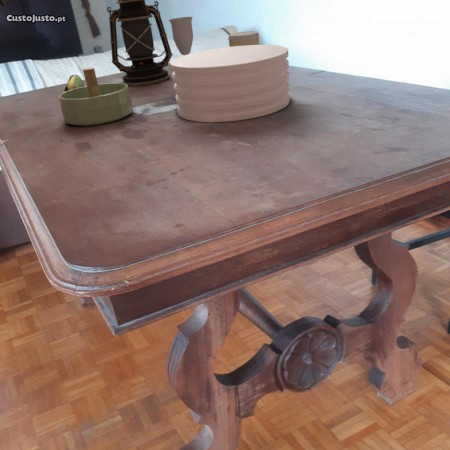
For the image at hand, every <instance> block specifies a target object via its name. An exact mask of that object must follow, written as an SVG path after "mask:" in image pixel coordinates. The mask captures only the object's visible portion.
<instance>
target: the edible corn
mask: <svg viewBox="0 0 450 450" xmlns="http://www.w3.org/2000/svg"><path fill="white" fill-rule="evenodd" d="M66 82H67V83H66V85H65V87H64V90H63V92H65V91H68V90H71V89H75V88H79V87H83V86H85V82H84V80H83V79H82V77H81V76H80V75H78V74H72V75H70V77H69V78H68V80H67V81H66Z"/></svg>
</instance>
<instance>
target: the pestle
mask: <svg viewBox="0 0 450 450" xmlns="http://www.w3.org/2000/svg"><path fill="white" fill-rule="evenodd" d="M82 72H83V73H82V74H83V77H84V81H85V84H86V85H85V86H87V89H88V93H89V97H96V96H101V95H100V91H99V87H98V84H99V83H98V78H97V74H96V71H95V68H94V67H86V68H83V69H82Z"/></svg>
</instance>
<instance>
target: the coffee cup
mask: <svg viewBox="0 0 450 450" xmlns="http://www.w3.org/2000/svg"><path fill="white" fill-rule="evenodd" d="M227 40H228V47H234V46H246V45H260V33H259V31H258V30H249V31H248V30H246V31H240V32H233V33H230V34H229V35H228V37H227Z"/></svg>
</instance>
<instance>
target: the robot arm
mask: <svg viewBox="0 0 450 450" xmlns="http://www.w3.org/2000/svg"><path fill="white" fill-rule="evenodd" d="M41 1H42V2H45V1H46V2H47V0H41ZM6 4H7V0H0V6H1V7H2V6H3V7H4V6H7V5H6Z"/></svg>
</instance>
